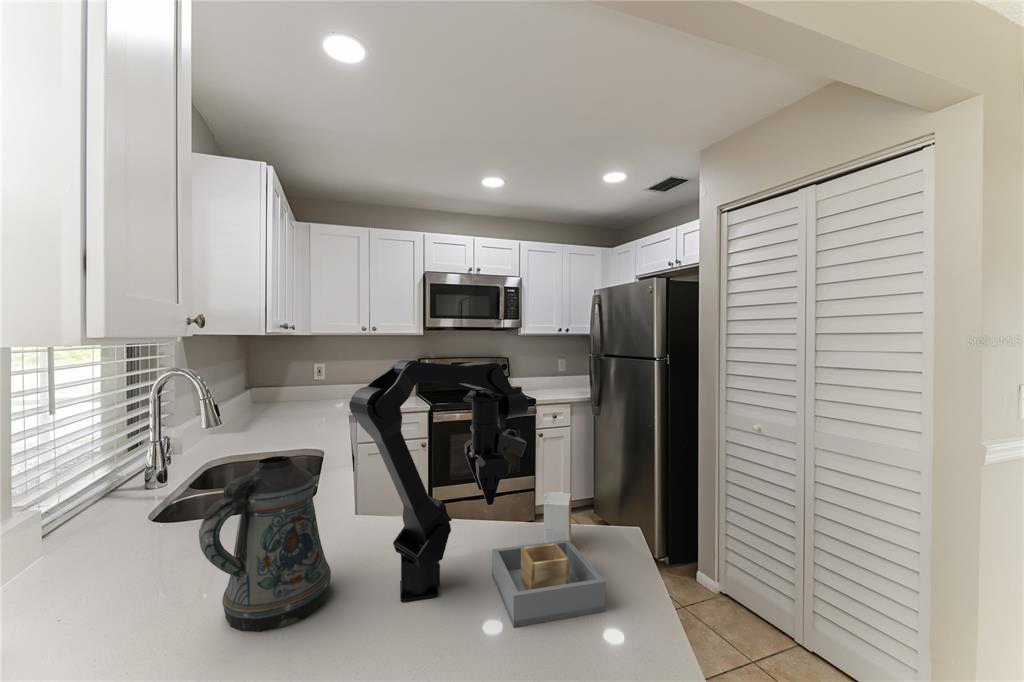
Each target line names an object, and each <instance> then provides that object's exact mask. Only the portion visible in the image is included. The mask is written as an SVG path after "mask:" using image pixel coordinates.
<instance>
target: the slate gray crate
mask: <svg viewBox="0 0 1024 682" xmlns="http://www.w3.org/2000/svg"><path fill="white" fill-rule="evenodd" d="M553 543H556V544H557V545H558V546H559V547H560V548H561V550H562V551H563V552H564V553H565V555H566V556H567V557H568V558H569V584H563V585H556V586H550V587H543V588H537V589H530V590H526V589H525V587H524V585H523V583H522V581H521V548H522V547H530V546H538V545H545V544H553ZM491 576H493V577H492V579H493V582H494V581H495V582H494V584H495V587H496V589H497V591H498V594H499V596H500V598H501V600H502V603H503V606H504V607H505V610H506V611H505V612H506V613H507V615H508V617H509V619H510V623H511V625H512V627H513V628H518V627H524V626H525V627H526V626H529V625H530V626H531V625H536V624H541V623H547V622H552V621H558V620H564V619H565V620H566V619H569V618H576V617H581V616H587V615H593V614H597V613H604V612H606V581H605V579H604V578H603V577H602V576H601V574H599V573H598V571H597V570H596V569H595V568H594V567H593V565H591V564H590V563H589V561H588V560H587V559H586V558H585V557H584V555H583V554H582V553H581V552H580V551H579V550H578V549H577V547H575V545H574V544H573V543H572V541H571V542H570V541H569V540H564V541H556V542H548V543H544V542H541V543H532V544H524V545H516V546H509V547H500V548H495V549H493V548H492V549H491Z"/></svg>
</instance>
